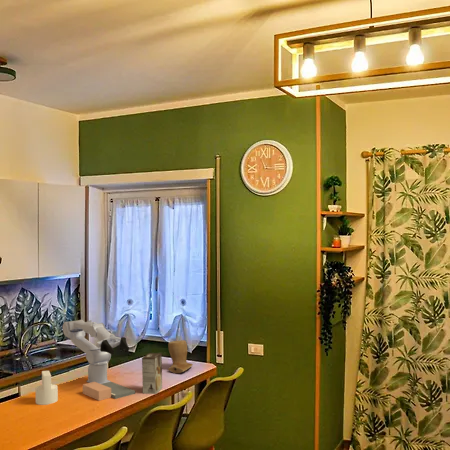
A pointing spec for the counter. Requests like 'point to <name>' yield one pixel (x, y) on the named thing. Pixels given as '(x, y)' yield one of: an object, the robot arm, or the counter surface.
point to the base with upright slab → (46, 390)
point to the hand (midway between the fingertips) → (120, 351)
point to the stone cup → (178, 356)
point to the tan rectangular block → (96, 391)
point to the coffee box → (152, 373)
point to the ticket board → (118, 390)
